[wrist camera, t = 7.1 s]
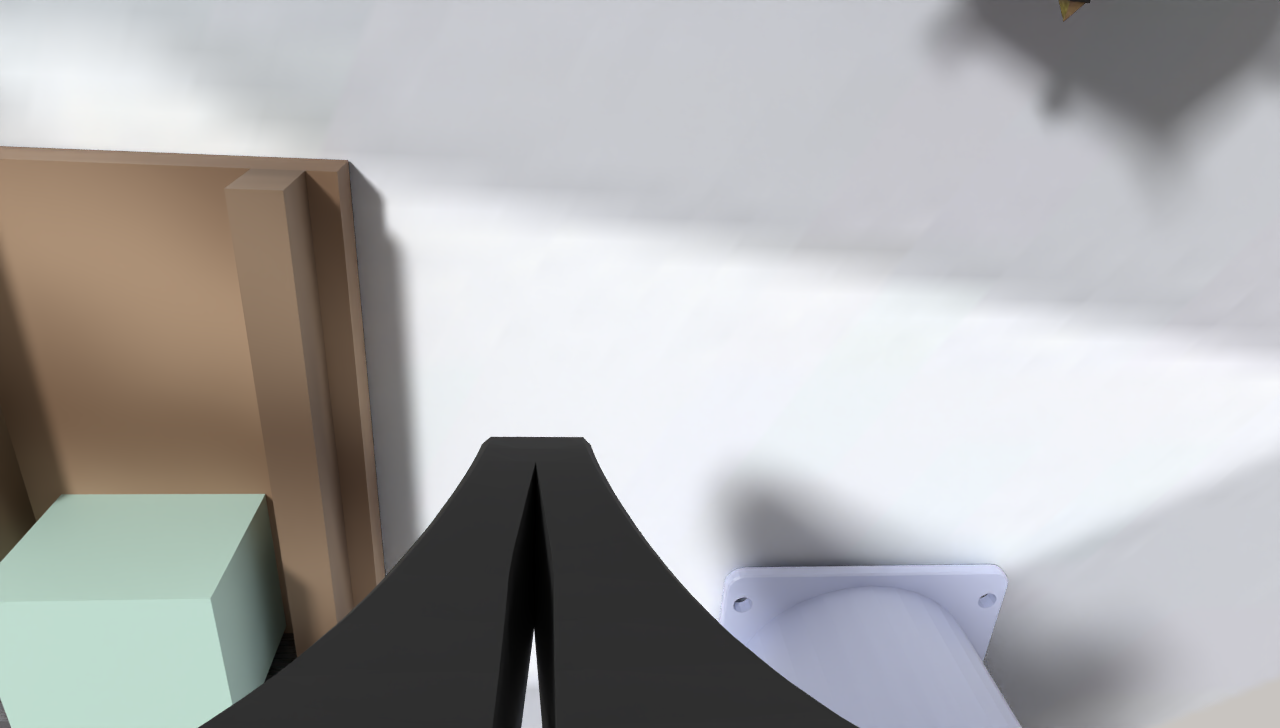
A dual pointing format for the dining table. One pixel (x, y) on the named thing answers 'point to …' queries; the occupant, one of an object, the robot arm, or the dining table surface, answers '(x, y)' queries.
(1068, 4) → the game die
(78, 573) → the block
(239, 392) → the chute
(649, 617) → the robot arm
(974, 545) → the dining table surface
